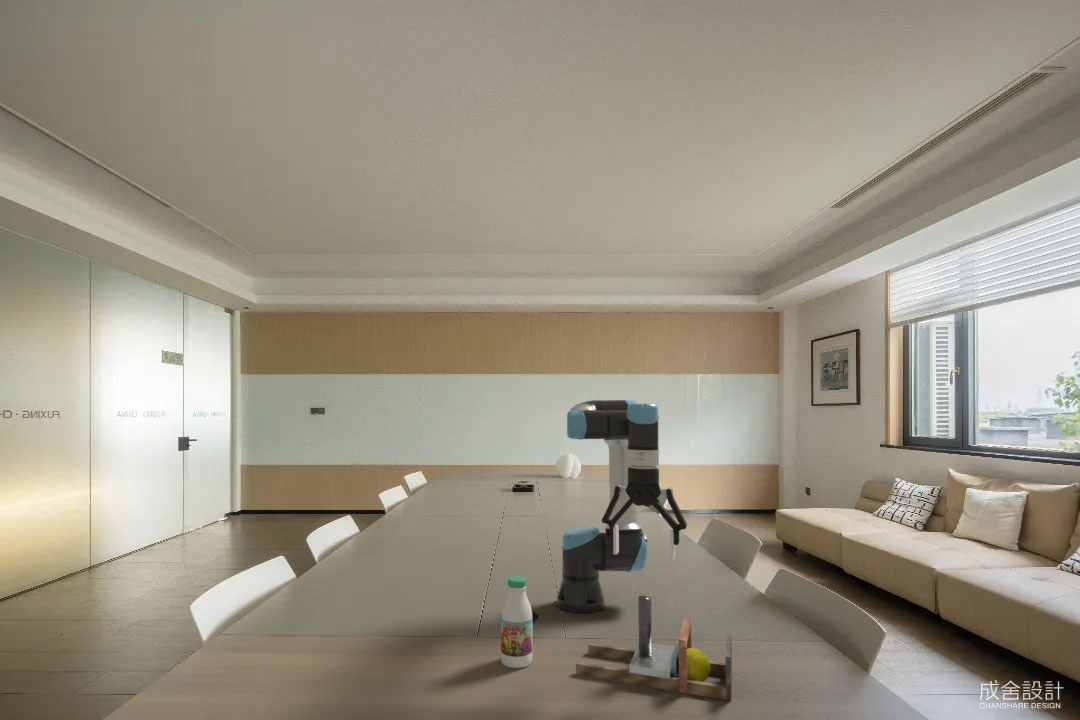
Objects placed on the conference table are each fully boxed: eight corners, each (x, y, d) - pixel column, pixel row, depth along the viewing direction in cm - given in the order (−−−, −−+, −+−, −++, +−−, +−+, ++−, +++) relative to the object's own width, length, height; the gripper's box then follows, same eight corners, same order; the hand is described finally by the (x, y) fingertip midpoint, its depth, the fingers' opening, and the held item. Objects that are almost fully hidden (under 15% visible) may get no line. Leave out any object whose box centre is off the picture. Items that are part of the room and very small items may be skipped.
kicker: (629, 682, 128) (628, 605, 130) (639, 657, 141) (639, 587, 142) (674, 690, 125) (673, 611, 126) (681, 664, 138) (680, 592, 139)
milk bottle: (500, 655, 143) (501, 574, 144) (531, 654, 144) (531, 573, 145) (501, 669, 135) (501, 583, 137) (533, 668, 136) (533, 582, 137)
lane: (575, 674, 133) (575, 625, 134) (589, 652, 145) (589, 607, 146) (731, 701, 121) (730, 646, 122) (732, 674, 133) (731, 625, 134)
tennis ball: (672, 677, 132) (671, 646, 132) (696, 671, 135) (696, 641, 135) (691, 691, 125) (691, 658, 126) (716, 685, 128) (716, 653, 129)
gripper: (589, 466, 139) (589, 554, 138) (694, 471, 131) (696, 565, 129) (597, 463, 146) (597, 547, 145) (697, 467, 138) (698, 556, 136)
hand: (643, 555), depth 137 cm, fingers open, 13 cm apart
